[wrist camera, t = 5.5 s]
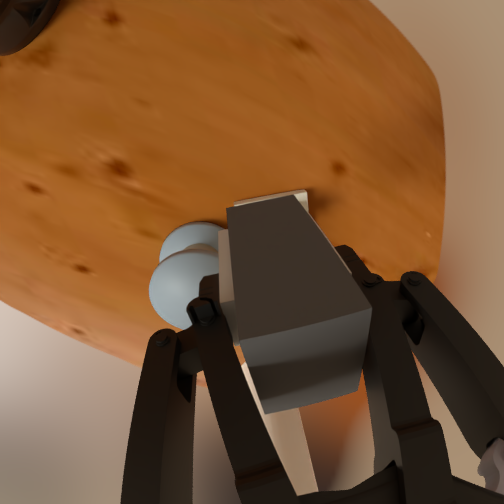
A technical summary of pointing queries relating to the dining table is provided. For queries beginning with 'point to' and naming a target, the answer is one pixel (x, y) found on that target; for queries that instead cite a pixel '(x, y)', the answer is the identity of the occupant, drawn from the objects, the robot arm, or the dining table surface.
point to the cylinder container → (288, 443)
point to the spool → (183, 270)
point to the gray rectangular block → (294, 306)
